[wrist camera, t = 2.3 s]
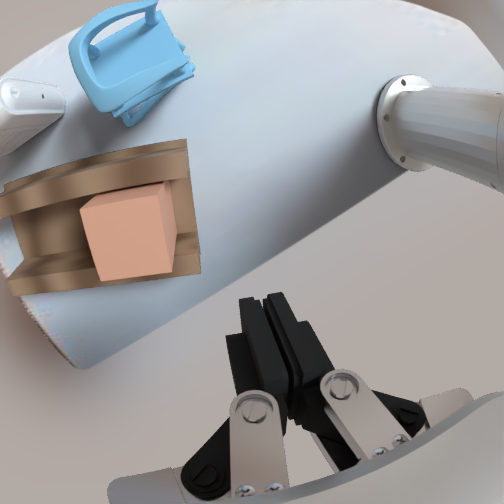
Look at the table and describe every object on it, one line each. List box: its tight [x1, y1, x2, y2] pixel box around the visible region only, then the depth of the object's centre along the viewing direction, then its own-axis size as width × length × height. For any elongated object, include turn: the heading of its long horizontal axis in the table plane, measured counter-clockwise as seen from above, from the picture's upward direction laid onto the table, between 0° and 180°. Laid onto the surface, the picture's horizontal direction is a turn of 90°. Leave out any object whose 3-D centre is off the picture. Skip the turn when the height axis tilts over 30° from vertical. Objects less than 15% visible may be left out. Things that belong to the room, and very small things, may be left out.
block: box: [80, 180, 177, 281], centre depth 22 cm, size 6×6×8 cm
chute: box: [0, 139, 201, 296], centre depth 23 cm, size 22×12×6 cm, turn 93°
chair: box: [68, 0, 196, 128], centre depth 16 cm, size 8×8×12 cm
